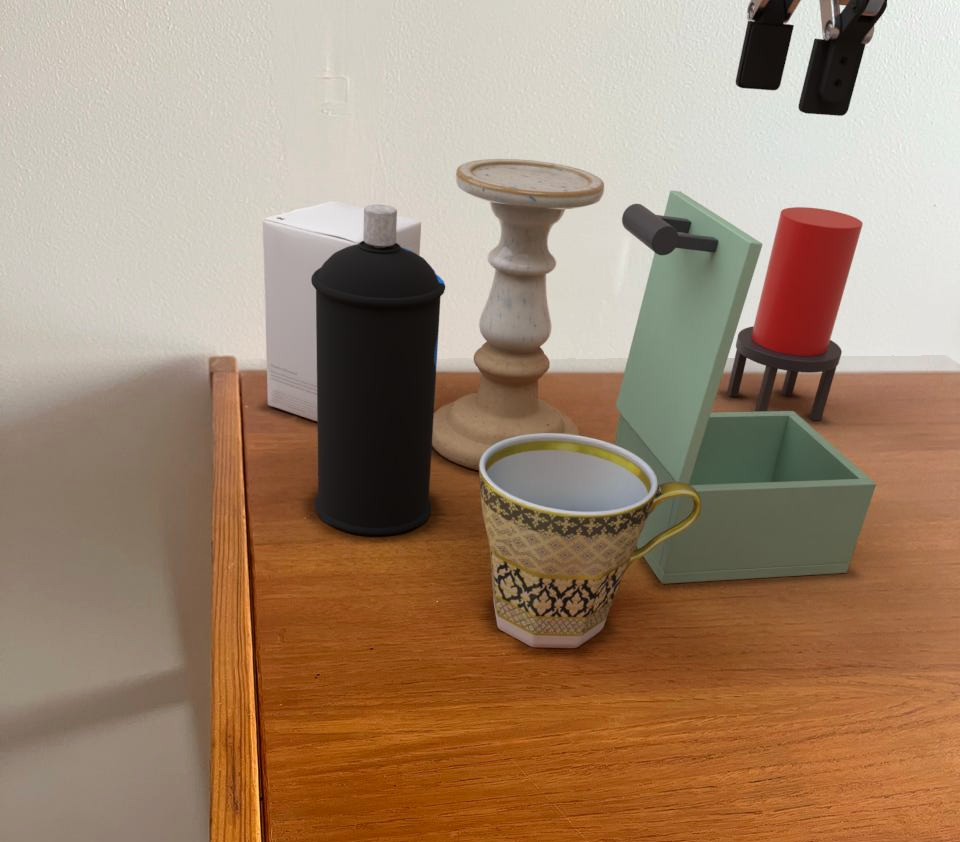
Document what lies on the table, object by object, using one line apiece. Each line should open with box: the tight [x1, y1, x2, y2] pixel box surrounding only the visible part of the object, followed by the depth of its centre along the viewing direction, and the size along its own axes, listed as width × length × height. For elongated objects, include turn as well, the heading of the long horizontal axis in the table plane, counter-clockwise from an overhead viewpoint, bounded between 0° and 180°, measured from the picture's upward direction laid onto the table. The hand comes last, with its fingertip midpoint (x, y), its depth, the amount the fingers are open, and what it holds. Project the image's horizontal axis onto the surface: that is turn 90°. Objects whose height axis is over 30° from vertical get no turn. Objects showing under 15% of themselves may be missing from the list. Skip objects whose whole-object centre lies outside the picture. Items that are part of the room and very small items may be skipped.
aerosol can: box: [311, 204, 446, 537], centre depth 67 cm, size 8×8×20 cm
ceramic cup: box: [478, 433, 701, 649], centre depth 60 cm, size 13×10×10 cm
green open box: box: [613, 410, 877, 585], centre depth 71 cm, size 14×12×7 cm
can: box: [752, 206, 863, 356], centre depth 88 cm, size 7×7×10 cm
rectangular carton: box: [262, 200, 422, 422], centre depth 82 cm, size 9×9×15 cm
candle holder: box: [432, 158, 605, 471], centre depth 77 cm, size 12×12×20 cm
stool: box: [726, 325, 843, 421], centre depth 92 cm, size 9×9×6 cm
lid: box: [615, 190, 763, 484], centre depth 63 cm, size 14×12×5 cm
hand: (787, 100), depth 69 cm, fingers open, 9 cm apart
